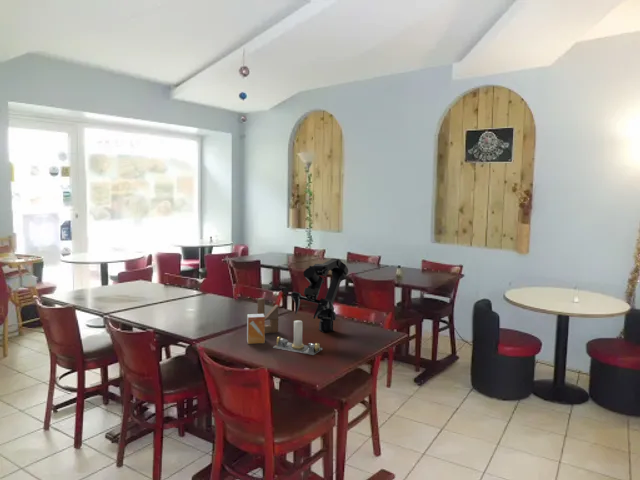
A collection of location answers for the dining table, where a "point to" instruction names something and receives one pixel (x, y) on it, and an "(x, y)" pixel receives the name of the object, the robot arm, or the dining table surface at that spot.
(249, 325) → the small box
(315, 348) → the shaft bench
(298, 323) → the grey upright cylinder
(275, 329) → the wooden block
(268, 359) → the dining table surface
